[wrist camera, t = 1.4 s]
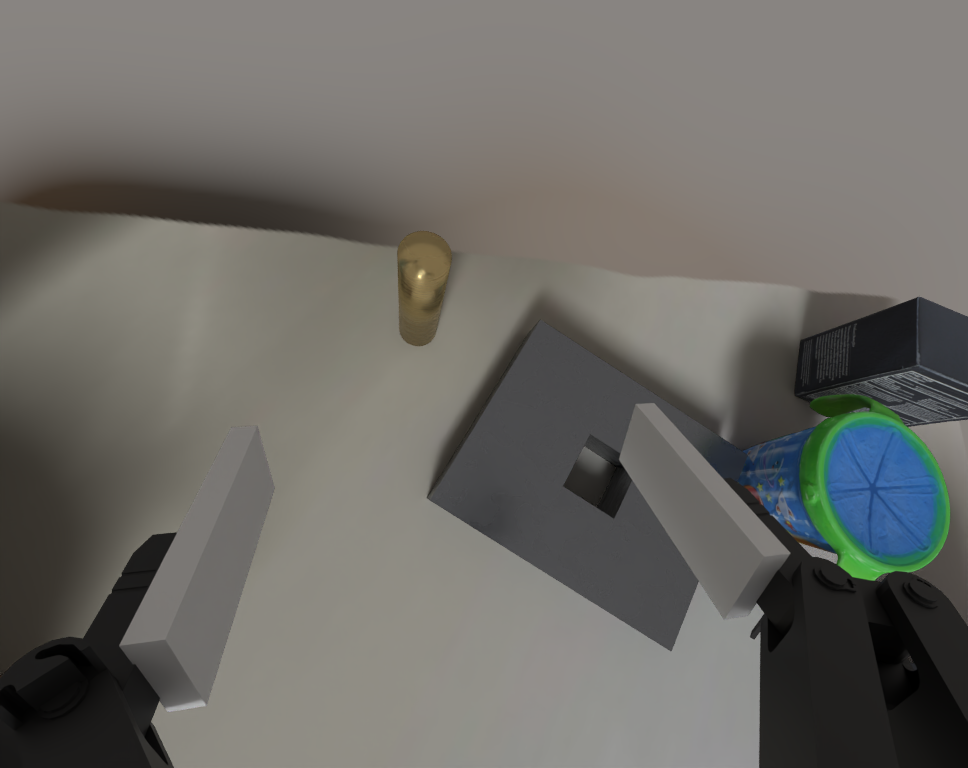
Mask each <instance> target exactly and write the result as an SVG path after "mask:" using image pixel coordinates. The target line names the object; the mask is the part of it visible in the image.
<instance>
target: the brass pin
mask: <svg viewBox="0 0 968 768" xmlns="http://www.w3.org/2000/svg"><path fill="white" fill-rule="evenodd" d="M397 256H398V293H399V330H400V334H401V336H402V338H403V339H404V340H405V341H406V342H407V343H409V344H411V345H414V346H423V345H426V344H428V343H429V342H431V341H432V340H433V338H434V336H435V334H436V329H437V325H438V320H439V316H440V311H441V307H442V302H443V297H444V293H445V288H446V284H447V279H448V275H449V270H450V265H451V260H452V254H451V250H450V248H449V246H448V244H447V243H446V241H444V239H443V238H441V237H440V236H439V235H437V234H435V233H431V232H428V231H418V232H414V233H411V234H409V235H407V236H406V237H405V238H404V239H403V240H402V241H401V243H400V245H399V247H398V252H397Z"/></svg>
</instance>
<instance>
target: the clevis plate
mask: <svg viewBox="0 0 968 768" xmlns="http://www.w3.org/2000/svg"><path fill="white" fill-rule="evenodd" d="M645 403H655V404H656V406H657V407H658V408H659V409H660V410H661V411H662V412H663V413H664V414H665V415H666V417H667V418H668V419H669V420H670V421H671V422H672V423H673V424H674V425H675V426H676V428H677V429H678V430H679V431H680V432H681V433H682V434H683V435H684V436H685V437H686V439H687V440H688V441H689V442H690V443H691V444H692V445H693V446H694V447H695V448H696V450H697V451H698V452H699V453H700V454H701V455H702V456H703V457H704V458H705V459H706V461H707V462H708V463H709V464H710V465H711V466H712V467H713V468H714V469H715V470H716V472H717V473H718V474H719V475H720V476H721V477H722V478H723V479H724V478H732V479H733V480H735V481H736V482H738V479H739V477H740V474H741V472H742V469H743V466H744V464H745V461H746V459H747V456H748V455H747V454H746V453H744V452H743V451H741V450H740V449H738V448H737V447H735V446H734V445H732V444H730V443H729V442H727V441H726V440H724V439H723V438H721V437H720V436H718V435H717V434H715V433H714V432H712V431H711V430H709V429H707V428H706V427H704V426H703V425H701V424H700V423H698V422H697V421H695V420H694V419H692V418H691V417H689V416H688V415H686V414H684V413H683V412H681V411H680V410H678V409H677V408H675V407H674V406H672V405H671V404H669V403H668V402H666V401H665V400H663V399H661V398H660V397H658V396H657V395H655V394H654V393H652V392H651V391H649V390H648V389H646V388H645V387H643V386H642V385H640V384H638V383H637V382H635V381H634V380H632V379H631V378H629V377H628V376H626V375H625V374H623V373H622V372H620V371H619V370H617V369H615V368H614V367H612V366H611V365H609V364H608V363H606V362H605V361H603V360H602V359H600V358H599V357H597V356H596V355H594V354H592V353H591V352H589V351H588V350H586V349H585V348H583V347H582V346H580V345H579V344H577V343H576V342H574V341H573V340H571V339H570V338H568V337H566V336H565V335H563V334H562V333H560V332H559V331H557V330H556V329H554V328H553V327H551V326H550V325H548V324H547V323H545V322H543V321H542V320H540V321H539V322H538V323H537V324H536V325H535V326H534V328H533V329H532V330H531V331H530V332H529V334H528V335H527V337H526V338H525V340H524V341H523V343H522V345H521V346H520V348H519V349H518V351H517V353H516V354H515V356H514V358H513V359H512V361H511V362H510V364H509V366H508V367H507V369H506V371H505V372H504V374H503V375H502V377H501V379H500V380H499V382H498V384H497V385H496V387H495V388H494V390H493V392H492V393H491V395H490V397H489V398H488V400H487V401H486V403H485V405H484V406H483V408H482V410H481V411H480V413H479V414H478V416H477V418H476V419H475V421H474V423H473V424H472V426H471V427H470V429H469V431H468V432H467V434H466V436H465V437H464V439H463V440H462V442H461V444H460V445H459V447H458V449H457V450H456V452H455V453H454V455H453V457H452V458H451V460H450V462H449V463H448V465H447V466H446V468H445V470H444V471H443V473H442V475H441V476H440V478H439V479H438V481H437V483H436V484H435V486H434V488H433V489H432V491H431V492H430V494H429V496H428V497H427V499H429V500H430V501H432V502H433V503H435V504H437V505H438V506H440V507H441V508H443V509H445V510H446V511H448V512H449V513H451V514H453V515H454V516H456V517H457V518H459V519H461V520H462V521H464V522H465V523H467V524H469V525H470V526H472V527H473V528H475V529H477V530H478V531H480V532H481V533H483V534H484V535H486V536H488V537H489V538H491V539H492V540H494V541H496V542H497V543H499V544H500V545H502V546H504V547H505V548H507V549H508V550H510V551H512V552H513V553H515V554H516V555H518V556H520V557H521V558H523V559H524V560H526V561H528V562H529V563H531V564H532V565H534V566H536V567H537V568H539V569H540V570H542V571H544V572H545V573H547V574H548V575H550V576H552V577H553V578H555V579H556V580H558V581H560V582H561V583H563V584H564V585H566V586H568V587H569V588H571V589H572V590H574V591H576V592H577V593H579V594H580V595H582V596H583V597H585V598H587V599H588V600H590V601H591V602H593V603H595V604H596V605H598V606H599V607H601V608H603V609H604V610H606V611H607V612H609V613H611V614H612V615H614V616H615V617H617V618H619V619H620V620H622V621H623V622H625V623H627V624H628V625H630V626H631V627H633V628H635V629H636V630H638V631H639V632H641V633H643V634H644V635H646V636H647V637H649V638H651V639H652V640H654V641H655V642H657V643H659V644H660V645H662V646H663V647H665V648H667V649H668V650H670V651H672V648H673V646H674V643H675V641H676V638H677V636H678V633H679V630H680V628H681V625H682V623H683V620H684V618H685V615H686V613H687V610H688V607H689V605H690V602H691V600H692V597H693V595H694V592H695V589H696V587H697V584H698V582H699V581H698V579H697V578H696V576H695V575H694V573H693V572H692V570H691V568H690V567H689V565H688V564H687V562H686V561H685V559H684V558H683V556H682V555H681V553H680V552H679V550H678V549H677V547H676V546H675V544H674V543H673V541H672V540H671V538H670V537H669V535H668V534H667V532H666V530H665V529H664V527H663V526H662V524H661V523H660V521H659V520H658V518H657V517H656V515H655V514H654V512H653V511H652V509H651V508H650V506H649V505H648V503H647V502H646V500H645V499H644V497H643V495H642V494H641V492H640V491H639V489H638V488H637V486H636V485H635V483H634V482H633V480H632V479H631V477H630V476H629V474H628V473H627V471H626V470H625V468H624V467H623V465H622V464H621V462H620V461H619V458H620V454H621V451H622V448H623V444H624V441H625V438H626V434H627V431H628V428H629V424H630V421H631V418H632V414H633V411H634V408H635V404H645ZM584 446H585V447H587V448H588V449H590V450H592V451H593V452H595V453H596V454H598V455H599V456H601V457H602V458H604V459H606V460H607V461H609V462H610V463H612V464H613V465H615V466H616V467H617V468H616V470H615V472H614V475H613V477H612V479H611V481H610V483H609V485H608V487H607V489H606V491H605V493H604V495H603V497H602V499H601V501H600V503H599V505H598V507H597V508H596V507H595V506H593V505H592V504H590V503H588V502H587V501H585V500H584V499H582V498H581V497H579V496H577V495H576V494H574V493H573V492H571V491H570V490H568V489H566V488H565V487H563V485H564V483H565V481H566V479H567V477H568V476H569V474H570V472H571V470H572V468H573V466H574V464H575V462H576V460H577V458H578V456H579V454H580V452H581V450H582V449H583V447H584Z"/></svg>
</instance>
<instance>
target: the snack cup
mask: <svg viewBox="0 0 968 768" xmlns="http://www.w3.org/2000/svg"><path fill="white" fill-rule="evenodd" d="M810 407H811V408H812V409H813V410H814V411H816V412H817V413H819V414H821V415H824V416H826V417H832V418H827V419H825V420H824V421H823V422H821V423H820V424H819V425H817V426H816V427H812V428H808V429H805V430H803V431H800V432H797V433H793V434H789V435H786V436H783V437H779V438H776V439H773V440H770V441H767V442H763V443H761V444H758V445H756V446H753V447H751V448H749V449H746V450H743V452H744V453H746V454H747V455H748V456H747V459H746V461H745V464H744V466H743V469H742V472H741V474H740V477H739V479H738V483H739V484H741V485H742V486H744V487H745V488H747V489H748V490H749V491H750V492H751V493H752V494H753V495H754V497H755V498H756V499H757V500H758V501H759V503H760V505H763V506H764V507H765V508H766V509H767V510H768V511H769V512H770V515H773V517H774V518H775V519H776V520H777V521H778V522H779V523H780V524H781V525H782V526H783V527H784V528H785V529H786V530H787V531H788V532H789V533H790V534H791V536H792V537H793V538H794V539H795V540H796V541H797V542H798V543H802V544H805V545H808V546H811V547H815V548H818V549H821V550H824V551H828V552H831V553H835V554H837V555H838V561H837V564H836V565H838V566H840V567H841V568H843V569H844V570H845V571H846V572H848V573H849V574H850V575H851V576H852V577H855V578H861V579H867V580H872V581H875V580H876V579H877V578H878V577H879V576H881V575H882V574H884V573H891V572H894V571H902V572H913V571H916V570H918V569H921V568H923V567H924V566H926V565H927V564H929V563H930V562H931V561H932V560H933V559H934V558H935V557H936V556H937V555H938V553H939V552H940V550H941V549H942V547H943V545H944V543H945V540H946V538H947V534H948V530H949V523H950V505H949V496H948V491H947V487H946V484H945V480H944V478H943V475H942V472H941V470H940V468H939V466H938V463H937V462H936V460H935V458H934V457H933V455H932V453H931V452H930V451H929V449H928V448H927V446H926V445H925V444H924V443H923V441H922V440H921V439H920V438H919V437H918V436H917V435H916V434H915V433H914V432H913V431H912V430H911V429H909V428H908V427H907V426H905V425H904V423H903V422H902V420H901V419H900V418H899V415H897V414H895V413H894V412H893V411H891V410H890V409H889V408H887V407H886V406H884V405H882V404H881V403H879V402H877V401H875V400H873V399H871V398H869V397H866V396H862V395H855V394H845V395H829V396H823V397H819V398H817V399H814V400H813V401H811V403H810ZM864 407H866V408H869V409H870V410H869V412H868V411H864V412H851V411H854V410H857V409H861V408H864ZM849 412H851V413H849Z"/></svg>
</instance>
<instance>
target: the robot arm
mask: <svg viewBox="0 0 968 768" xmlns="http://www.w3.org/2000/svg"><path fill="white" fill-rule="evenodd" d="M619 461H620V462H621V464H622V465H623V467H624V468H625V470H626V471H627V473H628V474H629V476H630V477H631V479H632V480H633V482H634V483H635V485H636V486H637V488H638V489H639V491H640V492H641V494H642V495H643V497H644V499H645V500H646V502H647V503H648V505H649V506H650V508H651V509H652V511H653V512H654V514H655V515H656V517H657V518H658V520H659V521H660V523H661V524H662V526H663V527H664V529H665V530H666V532H667V534H668V535H669V537H670V538H671V540H672V541H673V543H674V544H675V546H676V547H677V549H678V550H679V552H680V553H681V555H682V556H683V558H684V559H685V561H686V562H687V564H688V565H689V567H690V568H691V570H692V572H693V573H694V575H695V576H696V578H697V579H698V581H699V582H700V584H701V585H702V587H703V588H704V590H705V591H706V593H707V594H708V596H709V597H710V599H711V600H712V602H713V603H714V605H715V607H716V608H717V610H718V611H719V613H720V614H721V616H722V617H723V619H724V620H725V619H731V618H737V617H743V616H748V615H749V613H750V612H751V610H752V609H753V608H754V606H755V605H756V603H757V604H758V605H759V606H760V608H761V609H762V610H763V612H764V615H763V616H762V618H761V619H760V620H759V622H758V623H757V625H756V626H755V627H754V629H753V630H752V632H751V635H750V638H752V639H755V638H756V636H757V635H758V634H759V632H761V644H760V749H759V768H968V626H967V625H966V623H965V622H964V620H963V619H962V618H961V616H960V615H959V613H958V612H957V610H956V609H955V607H954V606H953V604H952V603H951V602H950V601H949V599H948V598H947V597H946V596H945V595H944V594H943V593H942V592H941V591H940V590H939V589H937V588H936V587H935V586H933V585H932V584H931V583H929V582H927V581H926V580H924V579H922V578H920V577H918V576H916V575H913V574H910V573H907V572H902V571H894V572H891V573H889V574H888V575H887V576H886V577H885V578H884V579H883V580H882V582H878V581H872V580H867V579H861V578H855V577H852V576H851V575H850V574H849V573H848V572H846V571H845V570H844V569H843V568H841V567H840V566H838V565H836V564H834V563H833V562H831V561H829V560H826V559H822V558H819V557H812V556H811V555H810V554H809V553H808V552H807V551H806V550H805V549H804V548H803V547H802V546H801V545H800V544H799V543H798V542H797V541H796V540H795V539H794V538H793V537H792V536H791V534H790V533H789V532H788V531H787V530H786V529H785V528H784V527H783V526H782V525H781V524H780V523H779V522H778V521H777V520H776V519H775V518H774V517H773V515H770V512H769V511H768V510H767V509H766V508H765V507H764V506H763V505H760V503H759V501H758V500H757V499H756V498H755V497H754V495H753V494H752V493H751V492H750V491H749V490H748V489H747V488H745V487H744V486H742V485H741V484H739V483H738V482H736V481H735V480H733V479H732V478H724V479H723V478H722V477H721V476H720V475H719V474H718V473H717V472H716V470H715V469H714V468H713V467H712V466H711V465H710V464H709V463H708V462H707V461H706V459H705V458H704V457H703V456H702V455H701V454H700V453H699V452H698V451H697V450H696V448H695V447H694V446H693V445H692V444H691V443H690V442H689V441H688V440H687V439H686V437H685V436H684V435H683V434H682V433H681V432H680V431H679V430H678V429H677V428H676V426H675V425H674V424H673V423H672V422H671V421H670V420H669V419H668V418H667V417H666V415H665V414H664V413H663V412H662V411H661V410H660V409H659V408H658V407H657V406H656V404H655V403H645V404H635V408H634V411H633V414H632V418H631V421H630V424H629V428H628V431H627V434H626V438H625V441H624V444H623V448H622V451H621V454H620V458H619ZM274 489H275V488H274V484H273V480H272V477H271V473H270V469H269V466H268V462H267V458H266V455H265V451H264V447H263V444H262V440H261V436H260V433H259V429H258V426H244V427H231V429H230V431H229V433H228V435H227V437H226V439H225V441H224V442H223V444H222V446H221V448H220V450H219V452H218V454H217V456H216V458H215V460H214V462H213V464H212V466H211V468H210V470H209V472H208V474H207V476H206V478H205V479H204V481H203V483H202V485H201V487H200V489H199V491H198V493H197V495H196V497H195V499H194V501H193V503H192V505H191V507H190V509H189V511H188V513H187V515H186V516H185V518H184V520H183V522H182V524H181V526H180V528H179V530H178V532H177V533H166V534H156V535H152V536H151V537H150V538H149V539H148V540H147V541H146V542H145V543H144V544H143V545H142V546H141V547H139V548H138V549H137V550H136V551H135V552H134V553H133V555H132V556H131V558H130V560H129V562H128V563H127V565H126V567H125V568H124V570H123V572H122V576H121V577H119V579H118V580H117V582H116V584H115V585H114V587H113V589H112V593H111V594H109V596H108V597H107V599H106V601H105V602H104V604H103V606H102V607H101V609H100V611H99V612H98V614H97V616H96V618H95V619H94V621H93V623H92V624H91V626H90V628H89V629H88V631H87V633H86V635H85V636H84V638H83V639H81V638H74V637H66V638H61V639H57V640H52V641H50V642H48V643H46V644H44V645H42V646H39V647H37V648H35V649H33V650H32V651H30V652H29V653H28V654H26V655H25V656H23V657H22V658H21V659H19V660H18V661H16V662H15V663H14V664H13V665H12V666H11V667H10V668H9V669H8V670H7V671H6V672H5V673H4V674H3V675H2V676H1V677H0V768H174V767H173V765H172V762H171V760H170V758H169V756H168V754H167V752H166V750H165V748H164V746H163V743H162V741H161V739H160V737H159V735H158V733H157V731H156V729H155V727H154V725H153V724H152V723H151V720H152V718H153V715H154V713H155V710H156V708H157V705H158V703H159V701H160V702H161V703H162V705H163V706H164V707H165V709H166V710H167V712H172V711H178V710H184V709H190V708H196V707H202V706H207V702H208V699H209V696H210V693H211V690H212V686H213V683H214V680H215V677H216V674H217V670H218V667H219V664H220V661H221V658H222V655H223V651H224V648H225V645H226V642H227V639H228V635H229V632H230V629H231V626H232V623H233V619H234V616H235V613H236V610H237V607H238V604H239V600H240V597H241V594H242V591H243V588H244V584H245V581H246V578H247V575H248V572H249V568H250V565H251V562H252V559H253V556H254V553H255V549H256V546H257V543H258V540H259V537H260V533H261V530H262V527H263V524H264V521H265V517H266V514H267V511H268V508H269V505H270V502H271V498H272V495H273V492H274ZM909 656H911V658H912V660H913V662H914V663H915V665H916V667H917V670H914V669H913V667H912V666H911V664H910V662H909V661H908V659H907V658H908V657H909Z"/></svg>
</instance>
